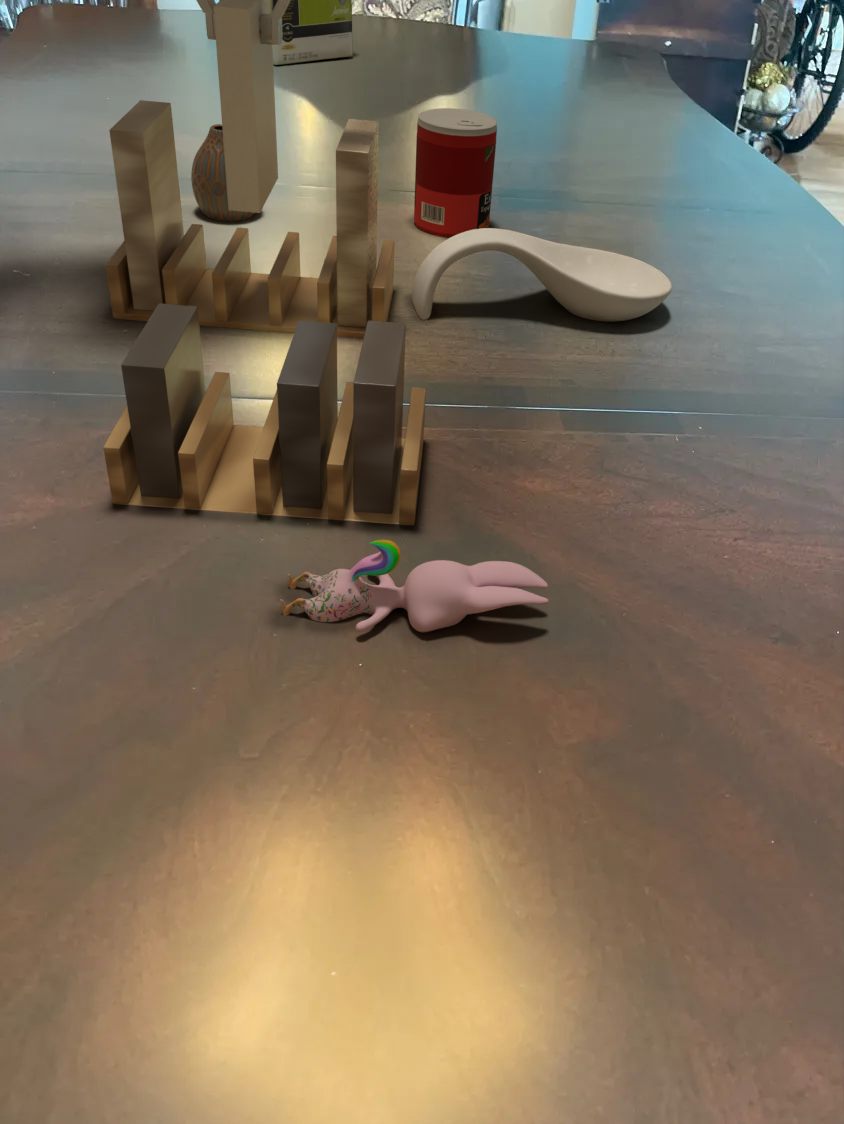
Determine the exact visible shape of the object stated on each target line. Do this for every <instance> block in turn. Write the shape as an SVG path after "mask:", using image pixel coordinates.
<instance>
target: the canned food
mask: <svg viewBox="0 0 844 1124" xmlns="http://www.w3.org/2000/svg"><path fill="white" fill-rule="evenodd" d="M416 123H417V124H416V141H415V143H416V144H415V173H414V174H415V175H414V201H413V203H414V204H413V205H414V208H413V222H414V224H415V227H416V228H418V229H419V230H420V231H422V232H424V233H427V234H430V235H432V236H433V235H434V236H437V237H443V238H451V237H453V236H455V235H457V234H460V233H463V232H466V231H469V230H474V229H481V228H490V218H491V207H492V206H491V205H492V195H493V182H494V171H495V160H496V159H495V158H496V149H497V136H498V135H497V134H498V126H497V125H498V122H497V119H496V118H494V117H492V116H491V115H488V114H487V113H483V112H480V111H476V110H470V109H463V108H454V107H453V108H450V107H446V108H445V107H440V108H430V109H426V110H424V111H421V112H420V113H418V116H417V121H416Z"/></svg>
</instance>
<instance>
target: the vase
mask: <svg viewBox="0 0 844 1124" xmlns="http://www.w3.org/2000/svg"><path fill="white" fill-rule="evenodd" d="M191 165H192V166H191V171H190V178H191V187H192V188H191V189H192V194H193V197H194V199H195V201H196V204H197V206H198V208H199V209H200V211H201V212H202V213H203V214H204V216H206V217H208V218H209V219H212V220H214V221H220V222H240V221H245V220H248V219H250V218H252V217H253V216H254V214H255V213H254V212H242V211H230V210H228V197H227V183H226V170H225V156H224V143H223V129H222V123H218V124H217V123H216V124H212V125H211V126H210V127H209V130H208V133H207V135H206V137H205V139H204V141H203V142H202V143H201V145H200V147H199V148H198V150H197V152H196V153H195V156H194V158H193V161H192V164H191Z"/></svg>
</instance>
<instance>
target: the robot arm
mask: <svg viewBox="0 0 844 1124" xmlns="http://www.w3.org/2000/svg"><path fill="white" fill-rule="evenodd" d="M195 1H196V3H197V4H198V6H199V7H200V9H201V11H202V13H204V15H205V27H206V29H205V30H206V38H207V39H208V40H211V41H216V35H215V22H214V8H213V7H214V6H215V5H216V4H217V2H216V1H215V0H195ZM290 1H291V0H278V1H277V3H276V5H275V7H274V9H273V12H272V14H262V15H261V16H260V17H259V29H260V31H261V33H260V43H261V44H267V45H278V46H280V45H281V43H282V38H283V35H282V16H283V15H284V13H285V11H286V9H287V7H288V5H289V3H290Z"/></svg>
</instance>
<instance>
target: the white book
mask: <svg viewBox="0 0 844 1124" xmlns="http://www.w3.org/2000/svg"><path fill="white" fill-rule="evenodd" d="M213 8H214V22H215V35H216V40H215V45H216V46H215V48H216V60H217V61H216V62H217V73H218V74H217V75H218V76H217V77H218V87H219V101H220V113H221V124H222V129H223V143H224V156H225V170H226V183H227V197H228V210H230V211H242V212H254V214H261V213H262V210H263V208H264V206H265V204H266V202H267V200H268V198H269V197H270V194H271V193H272V190H273V189H274V187H275V185H276V183H277V181H278V179H279V169H278V168H279V167H278V166H279V162H278V144H277V117H276V98H275V97H276V96H275V93H276V92H275V74H274V73H275V72H274V64H273V48H272V45H267V44H261V43H260V33H261V31H260V29H259V17H260V16H261V15H262V14H271V2H270V0H219V1H218V2H216V5H215V6H214V7H213Z"/></svg>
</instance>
